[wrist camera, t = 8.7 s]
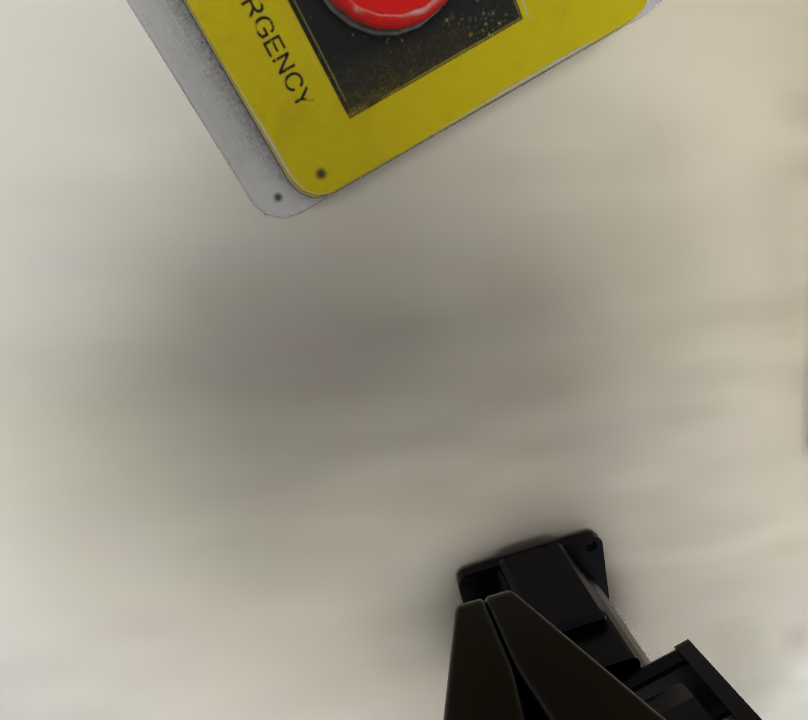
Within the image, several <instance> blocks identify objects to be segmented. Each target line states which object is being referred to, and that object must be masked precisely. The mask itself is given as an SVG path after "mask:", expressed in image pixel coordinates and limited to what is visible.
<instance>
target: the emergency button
mask: <svg viewBox="0 0 808 720" xmlns="http://www.w3.org/2000/svg"><path fill="white" fill-rule="evenodd" d="M660 1H662V0H127V2H128V3H129V5H130V6H131V8H132V10H133V11H134V13H135V14H136V16H137V18H138V19H139V21H140V22H141V24H142V26H143V27H144V29H145V31H146V32H147V34H148V35H149V37H150V39H151V40H152V42H153V43H154V45H155V47H156V48H157V50H158V51H159V53H160V55H161V56H162V58H163V59H164V61H165V63H166V64H167V66H168V68H169V69H170V71H171V72H172V74H173V76H174V77H175V79H176V80H177V82H178V84H179V85H180V87H181V88H182V90H183V92H184V93H185V95H186V96H187V98H188V100H189V101H190V103H191V105H192V106H193V108H194V109H195V111H196V113H197V114H198V116H199V117H200V119H201V121H202V122H203V124H204V125H205V127H206V129H207V130H208V132H209V133H210V135H211V137H212V138H213V140H214V142H215V143H216V145H217V146H218V148H219V150H220V151H221V153H222V154H223V156H224V158H225V159H226V161H227V162H228V164H229V166H230V167H231V169H232V170H233V172H234V174H235V175H236V177H237V179H238V180H239V182H240V183H241V185H242V187H243V188H244V190H245V191H246V193H247V195H248V196H249V198H250V199H251V201H252V203H253V204H254V205H255V206H256V207H257V208H258V209H260V210H261V211H262V212H263V213H264V214H265V215H269V216H274V217H279V218H285V217H288V216H291V215H295V214H298V213H300V212H302V211H304V210H306V209H307V208H309V207H311V206H313V205H314V204H316V203H318V202H320V201H321V200H323V199H325V198H327V197H328V196H330V195H332V194H334V193H335V192H337V191H339V190H341V189H342V188H344V187H346V186H347V185H349V184H351V183H353V182H354V181H356V180H358V179H360V178H361V177H363V176H365V175H367V174H368V173H370V172H372V171H374V170H375V169H377V168H379V167H381V166H382V165H384V164H386V163H388V162H389V161H391V160H393V159H395V158H396V157H398V156H400V155H402V154H403V153H405V152H407V151H408V150H410V149H412V148H414V147H415V146H417V145H419V144H421V143H422V142H424V141H426V140H428V139H429V138H431V137H433V136H435V135H436V134H438V133H440V132H442V131H443V130H445V129H447V128H449V127H450V126H452V125H454V124H456V123H457V122H459V121H461V120H463V119H464V118H466V117H468V116H470V115H471V114H473V113H475V112H476V111H478V110H480V109H482V108H483V107H485V106H487V105H489V104H490V103H492V102H494V101H496V100H497V99H499V98H501V97H503V96H504V95H506V94H508V93H510V92H511V91H513V90H515V89H517V88H518V87H520V86H522V85H524V84H525V83H527V82H529V81H531V80H532V79H534V78H536V77H537V76H539V75H541V74H543V73H544V72H546V71H548V70H550V69H551V68H553V67H555V66H557V65H558V64H560V63H562V62H564V61H565V60H567V59H569V58H571V57H572V56H574V55H576V54H578V53H579V52H581V51H583V50H585V49H586V48H588V47H590V46H592V45H593V44H595V43H597V42H599V41H600V40H602V39H604V38H605V37H607V36H609V35H611V34H612V33H614V32H616V31H618V30H619V29H621V28H623V27H625V26H626V25H628V24H630V23H632V22H633V21H635V20H637V19H639V18H640V17H642V16H644V15H646V14H647V13H648V12H650V11H651V10H652V9H653V8H654V7H655V6H656V5H657V4H658V3H659V2H660Z"/></svg>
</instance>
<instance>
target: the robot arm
mask: <svg viewBox="0 0 808 720" xmlns="http://www.w3.org/2000/svg"><path fill="white" fill-rule="evenodd" d="M590 542H592V543H591V544H590V545H587V544H588V543H590ZM468 579H472V580H471V581H469V582H466V580H468ZM457 583H458V587H459V591H460V595H461V599H462V603H463V604H460V605H458V606H457V607H456V610H455V618H454V627H453V636H452V646H451V655H450V664H449V673H448V683H447V692H446V701H445V711H444V720H762V719H761V718H760V717H759V716H758V715H757V714H756V713H755V712H754V711H753V709H752V708H751V707H750V706H749V705H748V704H747V703H746V702H745V701H744V700H743V699H742V697H741V696H740V695H739V694H738V693H737V692H736V691H735V690H734V689H733V688H732V687H731V685H730V684H729V683H728V682H727V681H726V680H725V679H724V678H723V677H722V676H721V675H720V673H719V672H718V671H717V670H716V669H715V668H714V667H713V666H712V665H711V664H710V663H709V661H708V660H707V659H706V658H705V657H704V656H703V655H702V654H701V653H700V652H699V651H698V649H697V648H696V647H695V646H694V645H693V644H692V643H691V642H690V641H689V640H688V639H687V640H686V641H684V642H682V643H680V644H678V645H676V646H674V647H675V650H673V651H671V652H670V653H668V654H666V655H664V656H662V657H660V658H658V659H656V660H655V661H653V662H650V660H649V659H648V657H647V656H646V655H645V653H644V652H643V650H642V649H641V647H640V646H639V644H638V643H637V641H636V640H635V638H634V637H633V635H632V634H631V632H630V631H629V629H628V628H627V626H626V625H625V623H624V622H623V620H622V619H621V617H620V616H619V614H618V613H617V611H616V610H615V609H614V607H613V606H612V604H611V603H610V601H609V594H608V585H607V577H606V569H605V560H604V552H603V544H602V541H601V539H600V538H599V537H598V535H597V534H596V533H595V532H592V531H588V532H584V533H580V534H577V535H574V536H570V537H567V538H564V539H560V540H557V541H554V542H551V543H547V544H544V545H541V546H537V547H534V548H531V549H527V550H524V551H521V552H518V553H514V554H511V555H508V556H504V557H501V558H498V559H494V560H491V561H488V562H485V563H481V564H478V565H475V566H471V567H468V568H465V569H463V570H461V571H460V572H459V573H458V575H457Z"/></svg>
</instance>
